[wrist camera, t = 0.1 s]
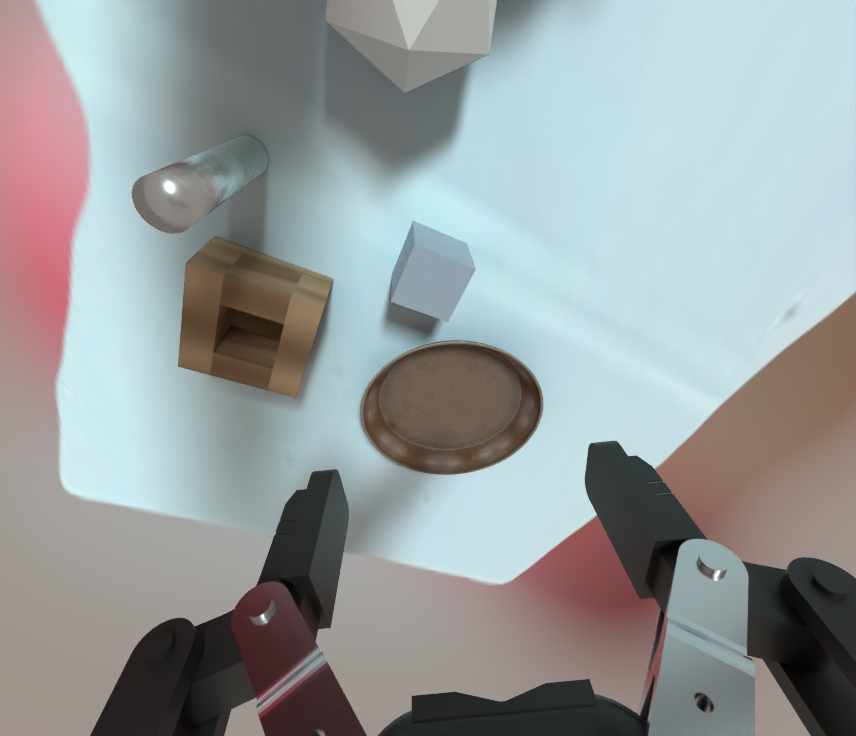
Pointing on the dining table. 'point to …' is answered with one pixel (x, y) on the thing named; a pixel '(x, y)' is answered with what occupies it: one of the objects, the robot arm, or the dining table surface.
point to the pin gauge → (198, 183)
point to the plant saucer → (451, 407)
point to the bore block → (250, 317)
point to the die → (415, 35)
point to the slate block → (431, 272)
